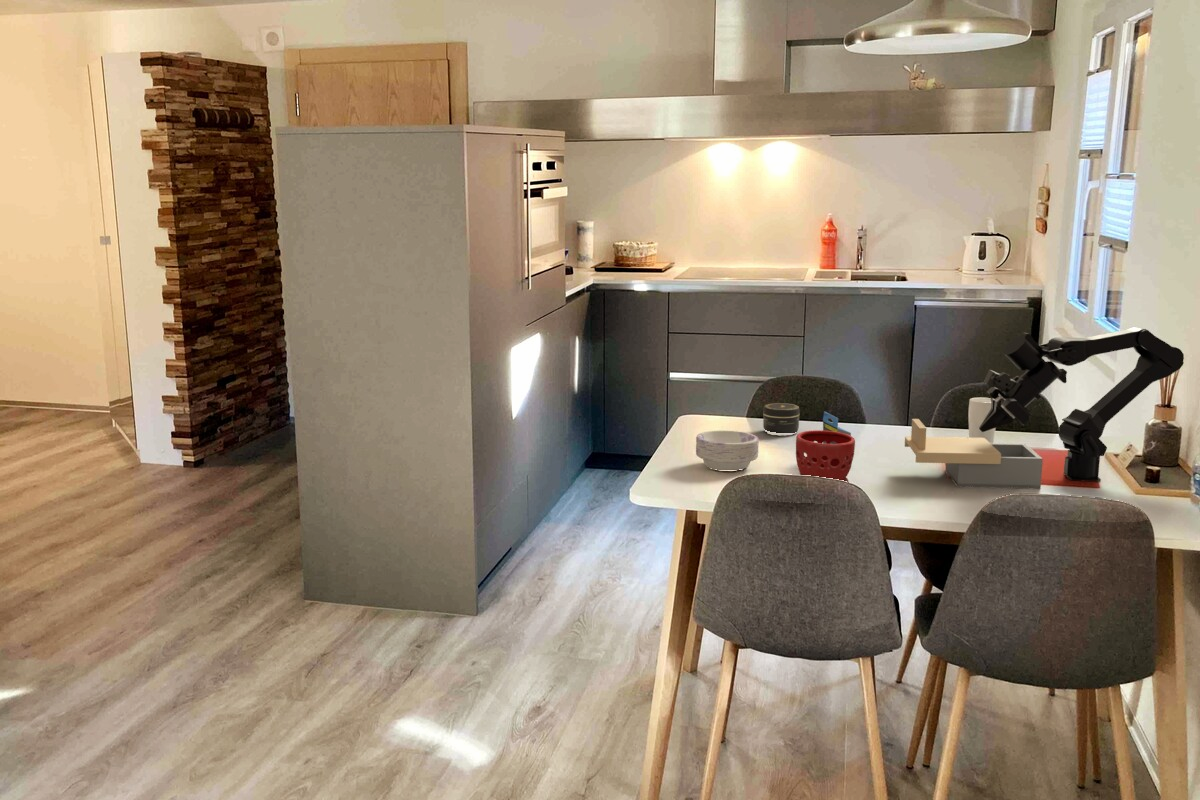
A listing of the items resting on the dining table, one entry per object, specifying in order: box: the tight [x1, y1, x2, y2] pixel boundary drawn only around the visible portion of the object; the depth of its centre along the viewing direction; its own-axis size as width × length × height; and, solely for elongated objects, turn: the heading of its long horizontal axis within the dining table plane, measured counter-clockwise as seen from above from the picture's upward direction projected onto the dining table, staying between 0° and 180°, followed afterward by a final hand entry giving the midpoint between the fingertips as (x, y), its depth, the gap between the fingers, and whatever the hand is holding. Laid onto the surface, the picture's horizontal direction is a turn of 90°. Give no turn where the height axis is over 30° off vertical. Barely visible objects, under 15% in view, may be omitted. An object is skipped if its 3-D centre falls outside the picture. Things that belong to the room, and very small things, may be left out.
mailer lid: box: [904, 418, 1001, 464], centre depth 244 cm, size 18×16×7 cm
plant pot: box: [795, 429, 856, 483], centre depth 240 cm, size 13×13×12 cm
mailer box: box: [944, 442, 1043, 490], centre depth 244 cm, size 18×14×7 cm
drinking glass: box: [968, 396, 996, 443], centre depth 263 cm, size 7×7×15 cm
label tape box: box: [822, 411, 852, 460], centre depth 261 cm, size 9×4×12 cm, turn 12°
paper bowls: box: [695, 429, 760, 470], centre depth 258 cm, size 15×15×8 cm
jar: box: [762, 402, 800, 433], centre depth 295 cm, size 10×10×8 cm
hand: (980, 430), depth 243 cm, fingers closed
